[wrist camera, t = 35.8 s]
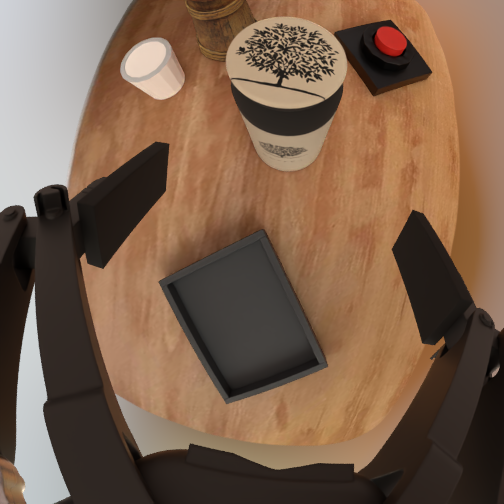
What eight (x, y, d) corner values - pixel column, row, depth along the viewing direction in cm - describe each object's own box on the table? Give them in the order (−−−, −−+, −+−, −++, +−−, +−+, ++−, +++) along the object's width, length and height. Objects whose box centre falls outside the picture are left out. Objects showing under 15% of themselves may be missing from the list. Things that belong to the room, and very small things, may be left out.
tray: (325, 358, 34) (328, 366, 31) (229, 394, 35) (226, 404, 33) (264, 229, 33) (262, 228, 31) (166, 278, 35) (158, 281, 33)
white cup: (139, 105, 34) (113, 85, 27) (149, 65, 33) (128, 41, 26) (184, 102, 33) (164, 78, 26) (193, 60, 33) (177, 33, 26)
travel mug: (269, 101, 32) (252, 3, 14) (330, 125, 31) (365, 37, 14) (243, 156, 33) (199, 87, 15) (306, 182, 32) (327, 131, 14)
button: (408, 53, 26) (413, 47, 24) (386, 59, 26) (389, 52, 25) (390, 31, 26) (394, 24, 24) (367, 36, 26) (370, 29, 25)
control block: (426, 79, 29) (437, 66, 25) (373, 96, 30) (381, 82, 26) (387, 27, 29) (393, 12, 25) (332, 40, 30) (336, 24, 26)
